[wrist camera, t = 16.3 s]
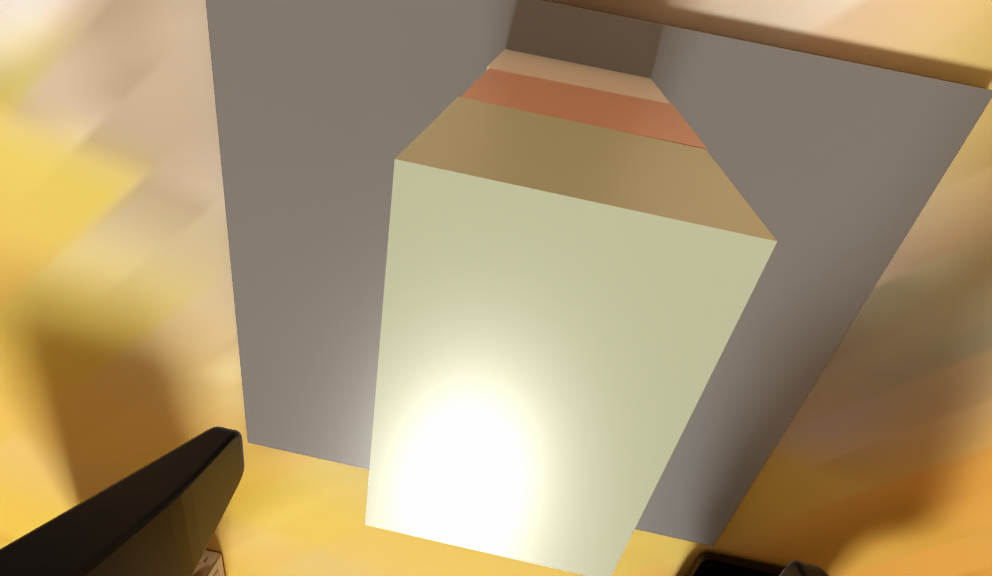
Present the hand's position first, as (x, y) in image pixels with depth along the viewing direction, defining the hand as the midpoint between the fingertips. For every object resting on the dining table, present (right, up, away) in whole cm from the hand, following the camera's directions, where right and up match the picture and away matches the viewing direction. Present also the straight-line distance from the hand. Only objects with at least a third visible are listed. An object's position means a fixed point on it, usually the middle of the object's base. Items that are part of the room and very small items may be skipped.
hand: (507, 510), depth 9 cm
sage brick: (+1, +4, +3) cm, 5 cm away
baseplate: (+1, +3, +13) cm, 13 cm away
